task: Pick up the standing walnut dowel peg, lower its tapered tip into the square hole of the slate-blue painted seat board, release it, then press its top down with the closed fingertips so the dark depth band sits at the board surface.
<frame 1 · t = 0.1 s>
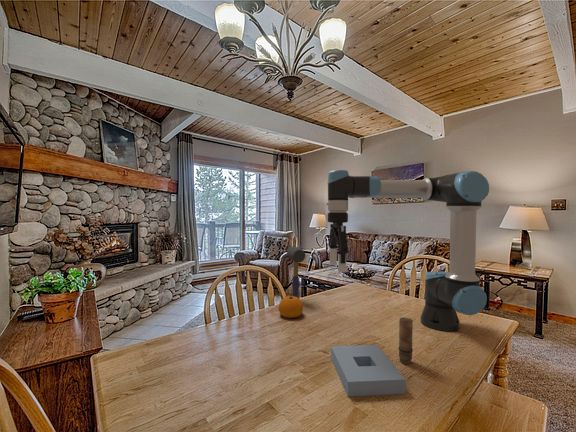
hand: (337, 268, 109), 28 cm above the table, fingers open, 13 cm apart
fruit: (290, 315, 136), on the table
rubber mallet: (295, 303, 154), on the table
seat board: (364, 374, 88), on the table
peg: (405, 361, 95), on the table
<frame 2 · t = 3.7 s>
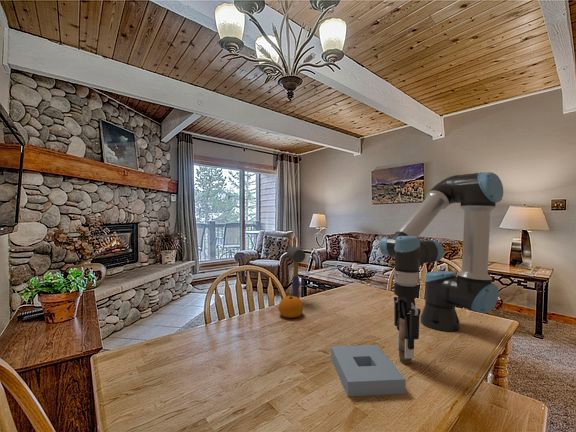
hand: (405, 353, 95), 3 cm above the table, fingers closed on peg, 4 cm apart
peg: (405, 361, 95), on the table, touching gripper
everything else where it was.
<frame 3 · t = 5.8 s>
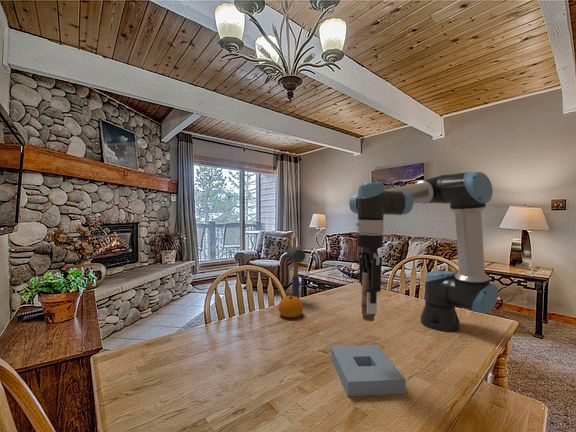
hand: (368, 310, 88), 19 cm above the table, fingers closed on peg, 4 cm apart
peg: (368, 319, 88), point 17 cm above the table, touching gripper
everything else where it was.
when the fingers open (5 cm above the table, at t = 8.1 s): peg drops 3 cm, resting in seat board.
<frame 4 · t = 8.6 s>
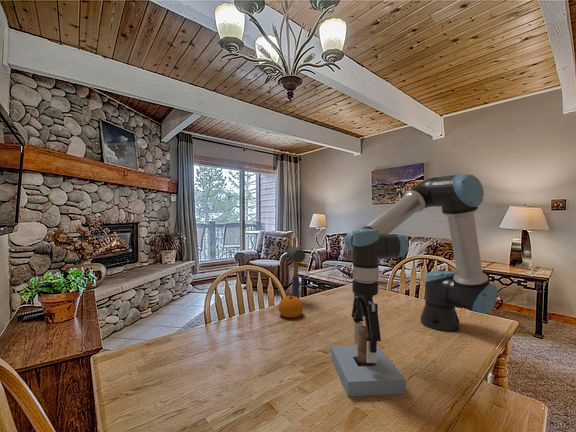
hand: (364, 351, 88), 7 cm above the table, fingers open, 11 cm apart
peg: (364, 374, 88), resting in seat board
everything else where it was.
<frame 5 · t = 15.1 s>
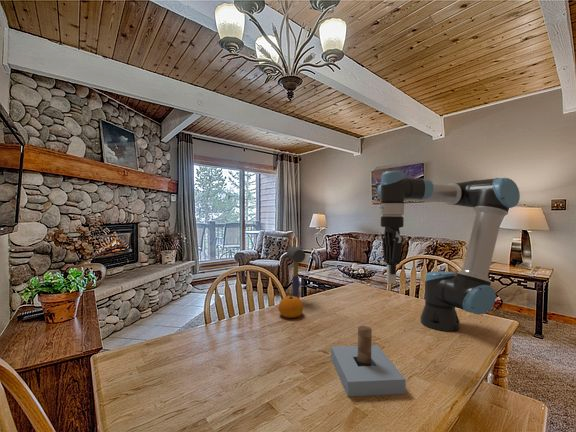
hand: (391, 282, 101), 24 cm above the table, fingers closed
nothing on the table moved.
at the end: peg 0.1 cm off-centre on the seat board, point 0.0 cm above the seat board's base; peg tilted 0°; the gripper is holding nothing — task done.
